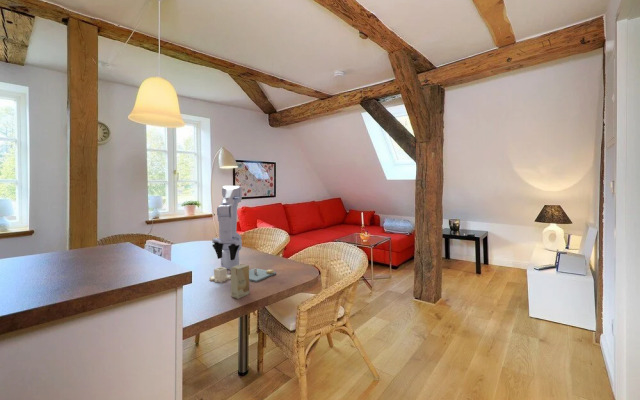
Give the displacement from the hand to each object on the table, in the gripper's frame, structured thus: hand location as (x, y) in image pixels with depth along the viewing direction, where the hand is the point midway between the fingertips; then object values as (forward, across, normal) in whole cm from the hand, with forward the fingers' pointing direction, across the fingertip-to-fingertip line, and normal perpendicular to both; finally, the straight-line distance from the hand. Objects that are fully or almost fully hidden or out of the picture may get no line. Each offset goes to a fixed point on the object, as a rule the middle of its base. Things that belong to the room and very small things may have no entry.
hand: (226, 259), depth 144 cm
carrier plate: (+10, +10, +9) cm, 16 cm away
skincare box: (+10, +19, -14) cm, 26 cm away
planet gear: (+10, -2, -2) cm, 10 cm away
